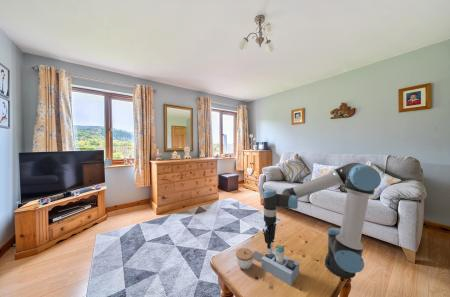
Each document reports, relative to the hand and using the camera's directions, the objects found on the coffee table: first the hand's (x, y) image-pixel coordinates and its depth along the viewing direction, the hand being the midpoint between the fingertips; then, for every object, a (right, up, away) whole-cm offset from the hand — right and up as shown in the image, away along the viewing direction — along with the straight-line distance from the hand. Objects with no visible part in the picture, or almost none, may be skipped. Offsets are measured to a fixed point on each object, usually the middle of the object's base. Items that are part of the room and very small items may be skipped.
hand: (269, 252), depth 101 cm
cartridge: (+5, -5, -4) cm, 8 cm away
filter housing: (+5, -8, -4) cm, 10 cm away
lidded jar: (-16, -8, 0) cm, 18 cm away
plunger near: (+9, -4, -9) cm, 14 cm away
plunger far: (0, -5, 0) cm, 5 cm away
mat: (-6, -8, +8) cm, 13 cm away
